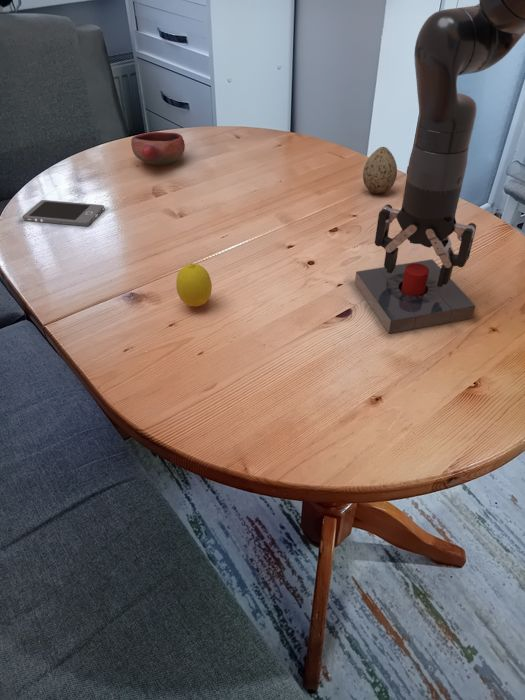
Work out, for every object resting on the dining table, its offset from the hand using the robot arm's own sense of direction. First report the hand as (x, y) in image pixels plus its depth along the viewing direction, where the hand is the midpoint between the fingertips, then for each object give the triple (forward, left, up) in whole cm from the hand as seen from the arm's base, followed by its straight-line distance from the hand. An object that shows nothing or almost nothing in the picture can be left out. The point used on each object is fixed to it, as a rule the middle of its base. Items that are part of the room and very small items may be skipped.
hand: (415, 277), depth 85 cm
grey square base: (0, 0, -4) cm, 4 cm away
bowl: (+33, -68, -5) cm, 76 cm away
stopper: (0, 0, -4) cm, 4 cm away
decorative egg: (-11, -39, -5) cm, 41 cm away
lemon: (+34, -8, -5) cm, 35 cm away
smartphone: (+56, -48, -4) cm, 74 cm away
